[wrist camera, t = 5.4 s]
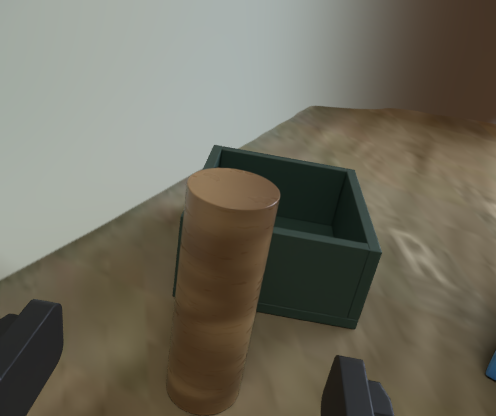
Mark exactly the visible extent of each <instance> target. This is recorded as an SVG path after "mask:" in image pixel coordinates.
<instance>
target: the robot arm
mask: <svg viewBox="0 0 496 416" xmlns="http://www.w3.org/2000/svg"><path fill="white" fill-rule="evenodd" d="M62 350H63V319H62V306H61V304H59V303H54V302H49V301H43V300H38V299H33V300H31V301H30V302H29V303H28V304H27V305H26V307H25V308H24V309H23V310H22V312H21V313H20V314H19V315H15V314H8V315H6V316H5V317H3V318H1V319H0V416H26V415H27V413H28V411H29V410H30V408H31V407H32V405H33V403H34V402H35V400H36V398H37V397H38V395H39V393H40V392H41V390H42V388H43V387H44V385H45V384H46V382H47V380H48V379H49V377H50V375H51V374H52V372H53V370H54V369H55V367H56V365H57V364H58V362H59V359H60V357H61V354H62ZM321 416H394V412H393V408H392V404H391V400H390V398H389V396H388V395H387V393H386V391H385V390H384V388H383V387H382V385H381V384H380V382H375V381H370V380H367V375H366V370H365V365H364V361H363V360H361V359H355V358H350V357H344V356H339V355H336V357H335V358H334V361H333V364H332V367H331V370H330V373H329V376H328V379H327V382H326V385H325V388H324V391H323V395H322V401H321Z"/></svg>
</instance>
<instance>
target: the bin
mask: <svg viewBox="0 0 496 416" xmlns="http://www.w3.org/2000/svg"><path fill="white" fill-rule="evenodd" d="M210 168H231V169H238V170H243V171H247V172H251V173H254V174H257V175H259V176H262V177H264V178H266V179H267V180H269V181H271V182H272V183H273V184H274V185H275V186H276V187H277V188H278V189H279V192H280V200H279V205H278V209H277V214H276V219H275V224H274V228H273V233H272V238H271V242H270V247H269V252H268V257H267V261H266V266H265V271H264V276H263V280H262V285H261V290H260V294H259V299H258V304H257V309H256V311H257V312H262V313H268V314H273V315H279V316H284V317H290V318H295V319H301V320H307V321H312V322H318V323H323V324H329V325H334V326H340V327H345V328H351V329H355V328H356V326H357V323H358V320H359V317H360V314H361V311H362V308H363V306H364V303H365V300H366V297H367V294H368V291H369V288H370V286H371V283H372V280H373V277H374V274H375V271H376V268H377V265H378V263H379V260H380V257H381V254H382V251H381V248H380V245H379V242H378V239H377V236H376V233H375V230H374V227H373V224H372V221H371V218H370V215H369V212H368V209H367V206H366V203H365V200H364V197H363V194H362V191H361V188H360V185H359V182H358V179H357V176H356V173H355V170H352V169H345V168H341V167H335V166H330V165H324V164H319V163H313V162H307V161H302V160H296V159H291V158H285V157H280V156H274V155H268V154H263V153H257V152H252V151H246V150H240V149H235V148H229V147H222V146H218V145H214V146H213V148H212V151H211V153H210V155H209V157H208V159H207V161H206V164H205V166H204V168H203V170H204V169H210ZM183 216H184V211H183V213H182V215H181V218H180V228H179V238H178V248H177V258H176V268H175V278H174V287H173V296H174V297H175V293H176V283H177V274H178V264H179V254H180V245H181V235H182V226H183Z"/></svg>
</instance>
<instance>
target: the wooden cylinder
mask: <svg viewBox="0 0 496 416" xmlns="http://www.w3.org/2000/svg"><path fill="white" fill-rule="evenodd" d="M279 200H280V192H279V189H278V188H277V187H276V186H275V185H274V184H273V183H272V182H271V181H269V180H267V179H266V178H264V177H262V176H259V175H257V174H254V173H251V172H247V171H243V170H238V169H231V168H210V169H204V170H201V171H198V172H195V173H194V174H192V175H191V176H190V177H189V179H188V181H187V187H186V197H185V206H184V216H183V226H182V235H181V245H180V254H179V264H178V274H177V283H176V293H175V302H174V312H173V322H172V331H171V341H170V350H169V360H168V369H167V379H166V388H167V392H168V394H169V396H170V398H171V400H172V401H173V402H174V403H175V404H176V405H177V406H178V407H179V408H181V409H182V410H184V411H186V412H189V413H192V414H196V415H213V414H217V413H220V412H222V411H224V410H226V409H227V408H229V407H230V406H231V405H232V404H233V403H234V401H235V400H236V398H237V396H238V394H239V389H240V384H241V380H242V375H243V370H244V365H245V361H246V356H247V351H248V346H249V342H250V337H251V332H252V328H253V323H254V318H255V313H256V309H257V304H258V299H259V294H260V290H261V285H262V280H263V276H264V271H265V266H266V261H267V257H268V252H269V247H270V242H271V238H272V233H273V228H274V224H275V219H276V214H277V209H278V205H279Z"/></svg>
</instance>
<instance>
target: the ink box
mask: <svg viewBox="0 0 496 416" xmlns="http://www.w3.org/2000/svg"><path fill="white" fill-rule="evenodd" d="M486 375H487V376H488V377H490V378H492V379H493V380H495V381H496V350H495V353H494V355H493V357H492V359H491V361H490V363H489V365H488V368H487V370H486Z"/></svg>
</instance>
